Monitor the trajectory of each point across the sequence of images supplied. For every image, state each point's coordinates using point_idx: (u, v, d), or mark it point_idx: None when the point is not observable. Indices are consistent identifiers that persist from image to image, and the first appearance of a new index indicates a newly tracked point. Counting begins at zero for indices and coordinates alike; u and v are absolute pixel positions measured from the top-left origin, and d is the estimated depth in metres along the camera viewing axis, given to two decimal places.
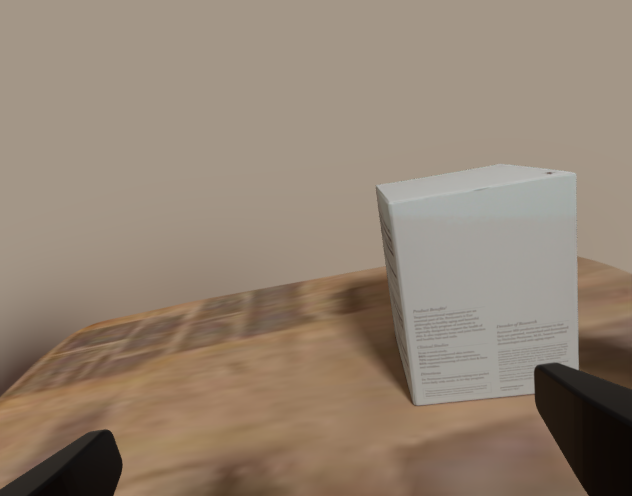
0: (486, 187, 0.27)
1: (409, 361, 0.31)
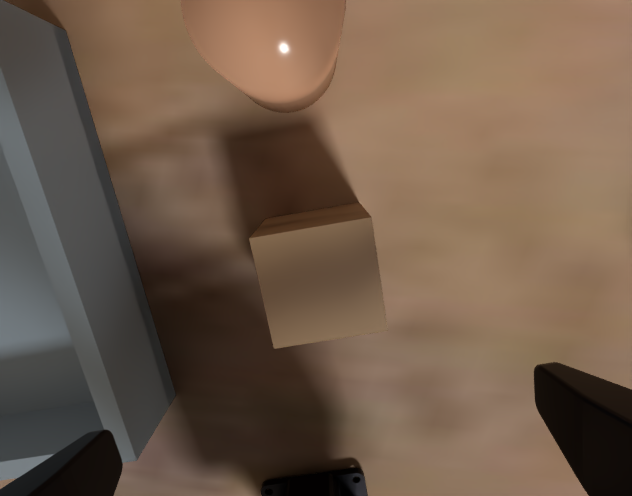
0: None
1: None
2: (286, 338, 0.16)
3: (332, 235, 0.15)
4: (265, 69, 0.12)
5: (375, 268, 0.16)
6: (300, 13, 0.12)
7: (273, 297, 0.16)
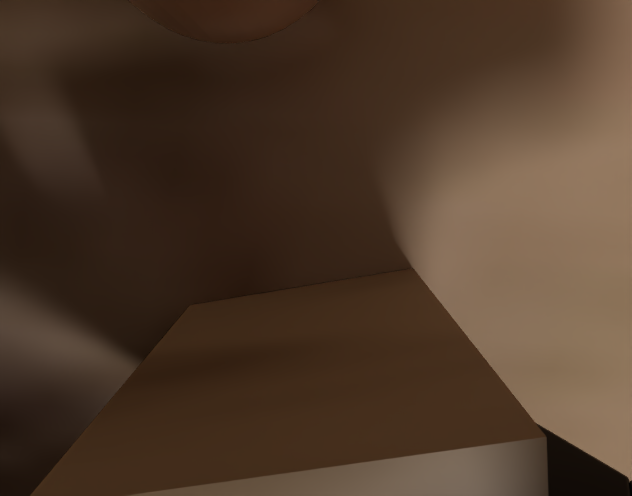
0: None
1: None
2: None
3: None
4: None
5: None
6: None
7: None
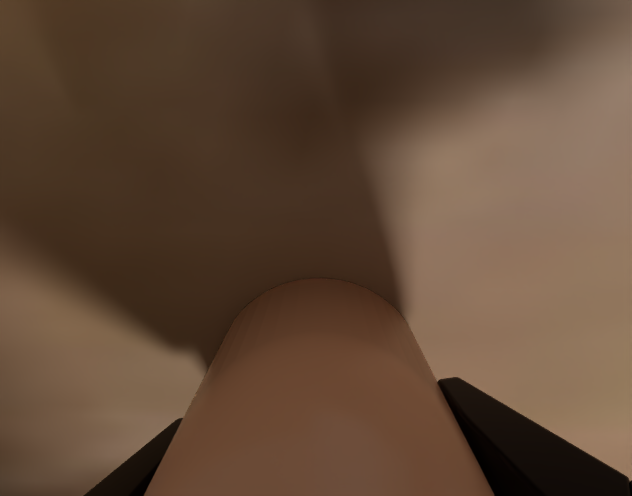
0: None
1: None
2: None
3: None
4: None
5: None
6: None
7: None
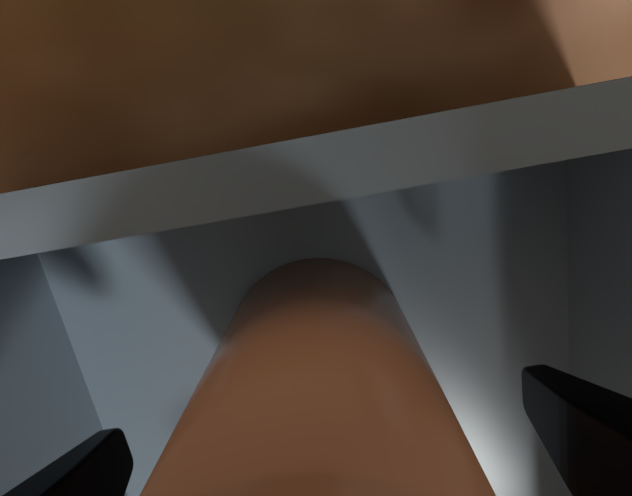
0: None
1: None
2: None
3: None
4: None
5: None
6: None
7: None
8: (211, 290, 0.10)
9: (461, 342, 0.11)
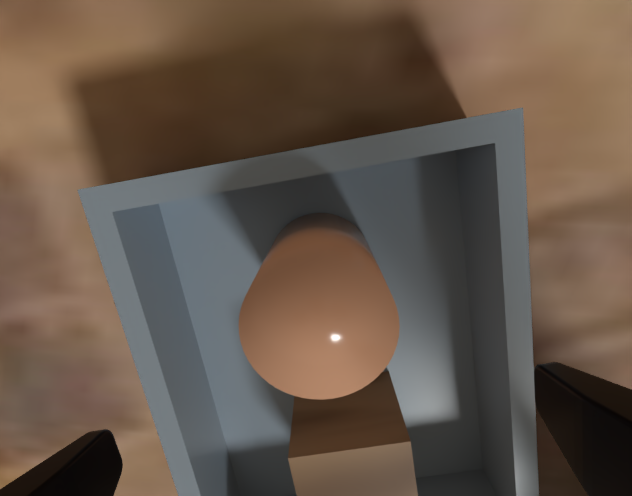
0: None
1: None
2: None
3: (371, 456, 0.15)
4: (319, 384, 0.12)
5: (413, 485, 0.16)
6: (354, 340, 0.12)
7: None
8: (258, 231, 0.18)
9: (403, 263, 0.19)
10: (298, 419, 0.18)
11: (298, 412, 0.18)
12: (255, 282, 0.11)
